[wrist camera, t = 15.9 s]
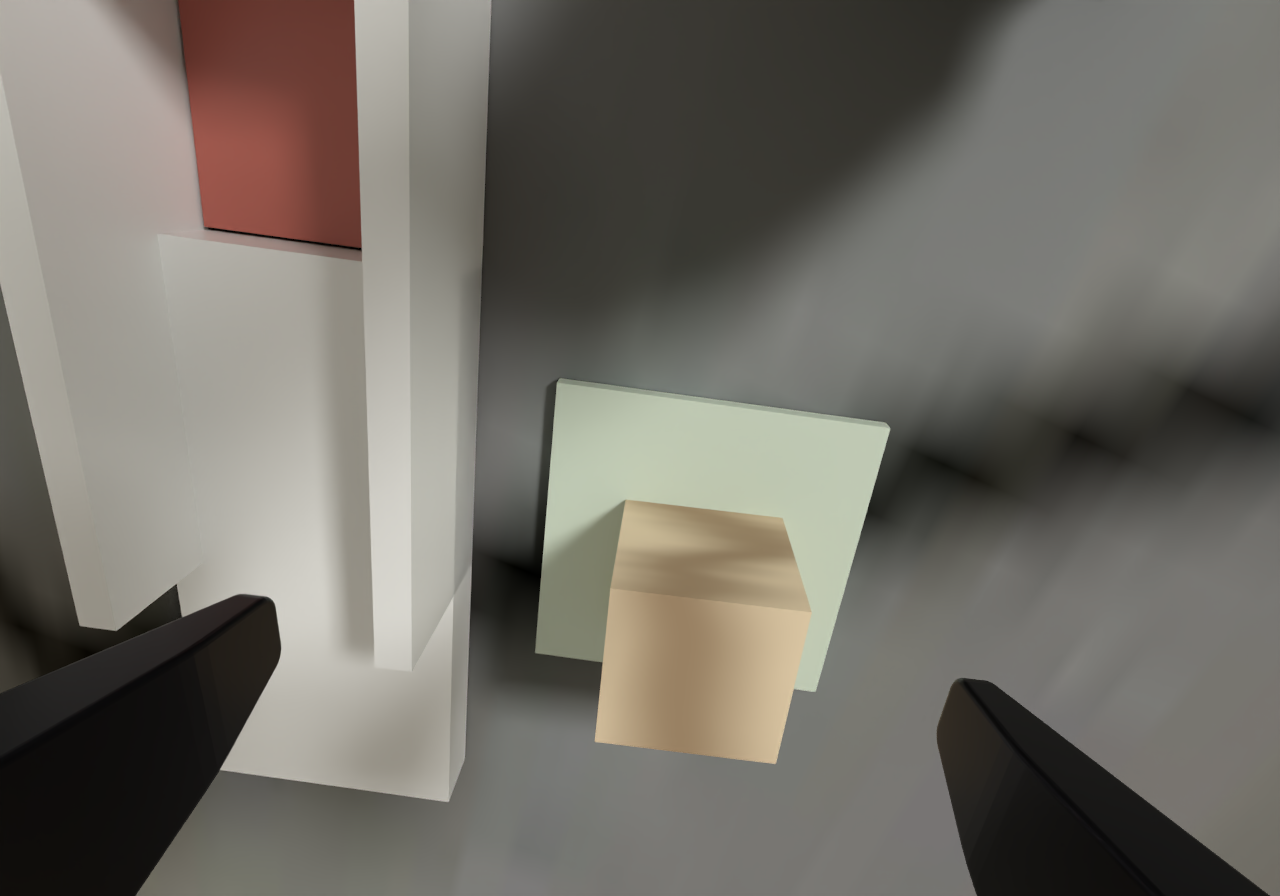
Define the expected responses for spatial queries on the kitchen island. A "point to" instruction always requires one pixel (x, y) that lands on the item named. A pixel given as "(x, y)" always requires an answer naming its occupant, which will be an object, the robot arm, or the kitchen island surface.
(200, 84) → the trap channel
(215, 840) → the kitchen island surface
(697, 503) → the sage pad
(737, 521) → the maple block
